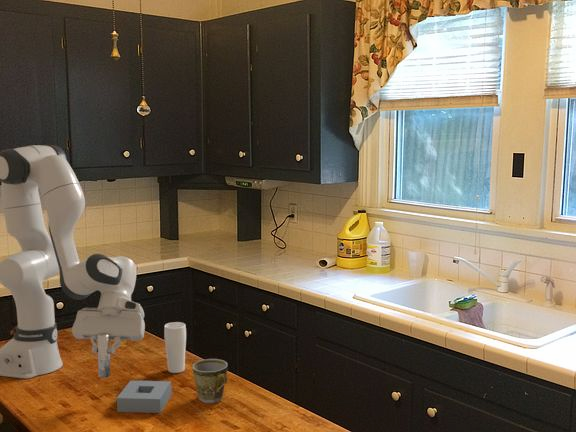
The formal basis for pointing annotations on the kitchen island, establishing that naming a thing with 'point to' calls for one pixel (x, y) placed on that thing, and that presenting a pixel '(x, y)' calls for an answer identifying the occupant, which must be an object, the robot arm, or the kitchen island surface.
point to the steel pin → (103, 355)
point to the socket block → (144, 396)
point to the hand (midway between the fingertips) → (102, 352)
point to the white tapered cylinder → (175, 346)
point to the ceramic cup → (210, 379)
